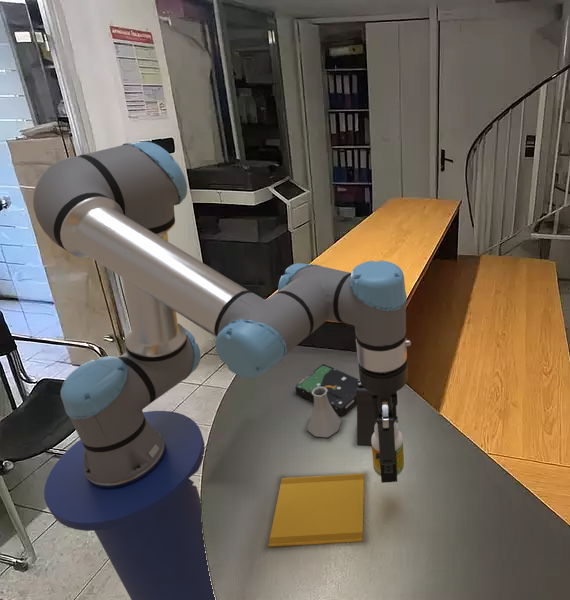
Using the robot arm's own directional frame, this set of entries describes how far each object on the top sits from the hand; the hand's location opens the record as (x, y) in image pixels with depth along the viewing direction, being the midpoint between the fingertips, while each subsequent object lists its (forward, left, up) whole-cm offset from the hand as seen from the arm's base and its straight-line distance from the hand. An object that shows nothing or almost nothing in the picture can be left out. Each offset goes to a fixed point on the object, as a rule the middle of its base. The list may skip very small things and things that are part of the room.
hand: (388, 466), depth 85 cm
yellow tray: (-13, -1, -9) cm, 16 cm away
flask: (-14, +20, -9) cm, 26 cm away
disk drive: (-13, +31, -9) cm, 35 cm away
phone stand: (-3, +18, -9) cm, 20 cm away
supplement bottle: (0, 0, 0) cm, 0 cm away
